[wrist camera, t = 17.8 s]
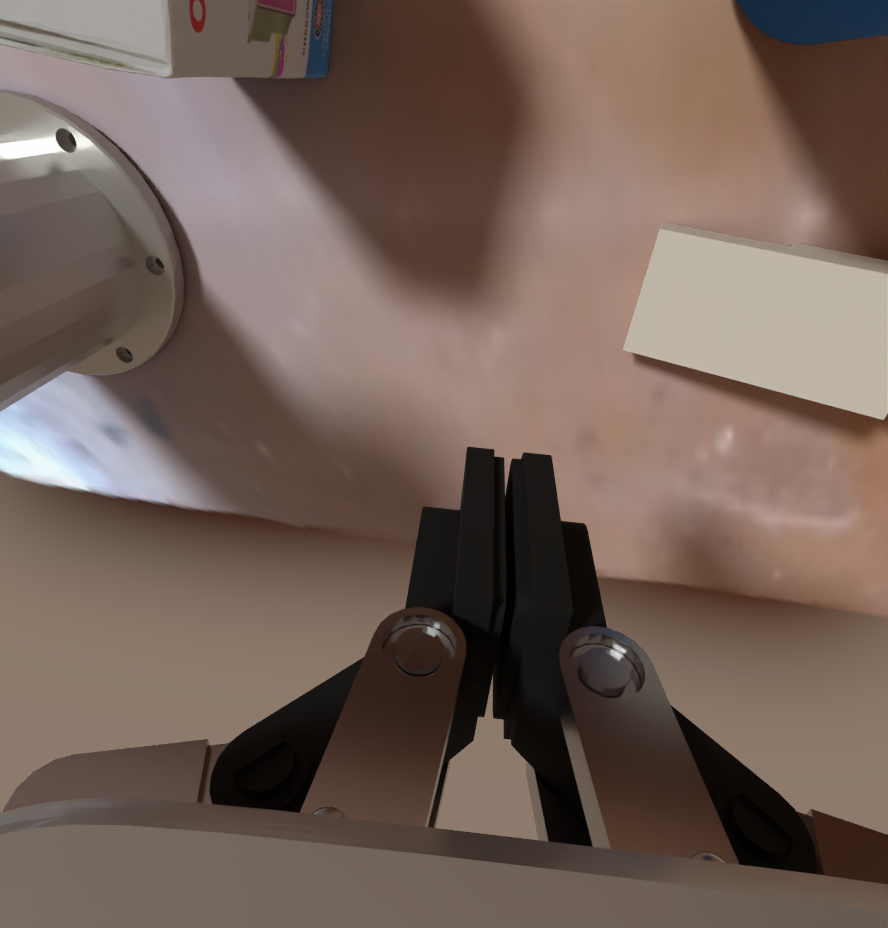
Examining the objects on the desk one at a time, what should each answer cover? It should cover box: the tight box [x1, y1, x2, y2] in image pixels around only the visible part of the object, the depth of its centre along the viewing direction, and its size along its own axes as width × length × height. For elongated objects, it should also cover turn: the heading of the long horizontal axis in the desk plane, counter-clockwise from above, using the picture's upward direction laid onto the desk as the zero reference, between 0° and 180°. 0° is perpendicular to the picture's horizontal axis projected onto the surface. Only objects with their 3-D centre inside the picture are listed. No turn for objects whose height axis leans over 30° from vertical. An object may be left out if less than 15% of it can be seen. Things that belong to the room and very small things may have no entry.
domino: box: [623, 223, 888, 420], centre depth 22 cm, size 2×5×10 cm
